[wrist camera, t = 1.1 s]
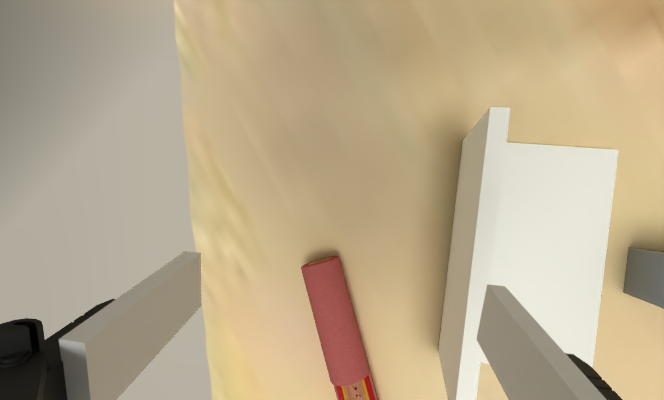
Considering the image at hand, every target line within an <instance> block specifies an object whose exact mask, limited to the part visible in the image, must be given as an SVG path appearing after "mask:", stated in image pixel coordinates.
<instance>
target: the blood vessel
mask: <svg viewBox="0 0 664 400" xmlns="http://www.w3.org/2000/svg"><path fill="white" fill-rule="evenodd" d="M301 269H302V273H303V277H304V281H305V285H306V289H307V292H308V296H309V300H310V304H311V308H312V312H313V315H314V319H315V323H316V327H317V331H318V334H319V338H320V342H321V346H322V350H323V354H324V357H325V361H326V365H327V369H328V373H329V377H330V380H331V382H332V384H333V385H334V388H335V392H336V395H337V399H338V400H378V398H377V395H376V391H375V387H374V384H373V380H372V376H371V373H370V369H369V365H368V362H367V358H366V354H365V351H364V347H363V343H362V340H361V336H360V332H359V329H358V325H357V321H356V317H355V314H354V310H353V306H352V303H351V299H350V295H349V292H348V288H347V284H346V281H345V277H344V273H343V270H342V266H341V262H340V259H339V257H338V256H334V257H328V258H324V259H320V260H317V261H314V262H310V263H308V264H305V265H304V266H302V267H301Z"/></svg>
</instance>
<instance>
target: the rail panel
mask: <svg viewBox="0 0 664 400" xmlns="http://www.w3.org/2000/svg"><path fill="white" fill-rule="evenodd" d="M510 109H511V108H504V107H490V108H489V109H488V110H487V112H486V113H485V114H484V115H483V117H482V118H481V119H480V120H479V121H478V123H477V124H476V125H475V126H474V128H473V129H472V130H471V131H470V132H469V134H468V135H467V136H466V137H465V139H464V140H463V142H462V151H461V159H460V168H459V176H458V185H457V193H456V202H455V210H454V219H453V227H452V236H451V244H450V253H449V261H448V270H447V278H446V287H445V295H444V304H443V313H442V321H441V330H440V338H439V347H438V353H439V358H440V363H441V368H442V372H443V377H444V382H445V387H446V392H447V396H448V400H476V396H477V388H478V379H479V371H480V362H481V363H486V364H489V362H488V360H487V358H486V356H485V354H484V352H483V351H482V349H481V347H480V345H479V343H478V341H477V333H478V328H479V323H480V318H481V313H482V308H483V303H484V298H485V293H486V288H487V284H489V285H498V286H505V287H506V288H507V289H508V290H509V291H510V292H511V293H512V295H513V296H514V297H515V298H516V299H517V300H518V301H519V302H520V303H521V305H522V306H523V307H524V308H525V309H526V310H527V311H528V312H529V314H530V315H531V316H532V317H533V318H534V319H535V320H536V321H537V322H538V324H539V325H540V326H541V327H542V328H543V329H544V330H545V331H546V332H547V334H548V335H549V336H550V337H551V338H552V339H553V340H554V341H555V343H556V344H557V345H558V346H559V347H560V348H561V349H562V350H563V351H564V353H567V354H574V355H575V356H577V357H578V358H580V359H581V360H583V361H584V362H585V363H587V364H588V365H590V366H591V367H593V359H594V351H595V342H596V334H597V326H598V317H599V309H600V301H601V292H602V284H603V276H604V267H605V259H606V251H607V242H608V234H609V226H610V217H611V209H612V201H613V192H614V184H615V176H616V167H617V159H618V151H619V150H613V149H598V148H584V147H569V146H554V145H539V144H524V143H510V142H507V134H508V125H509V117H510Z"/></svg>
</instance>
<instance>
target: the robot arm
mask: <svg viewBox="0 0 664 400" xmlns="http://www.w3.org/2000/svg"><path fill="white" fill-rule="evenodd" d="M200 307H201V253H196V252H187V251H185V252H183V253H182V254H180V255H179V256H177V257H176V258H175V259H173V260H172V261H170V262H169V263H167V264H166V265H164V266H163V267H162V268H160V269H159V270H157V271H156V272H154V273H153V274H152V275H150V276H149V277H147V278H146V279H144V280H143V281H142V282H140V283H139V284H138V285H136V286H134V287H133V288H132V289H130V290H129V291H127V292H126V293H124V294H123V295H121V296H120V297H119V298H117V299H111V300H109V301H106V302H104V303H102V304H99V305H97V306H95V307H94V308H92V309H91V310H89V311H88V312H86V313H85V314H84V316H80V317H79V318H77V319H76V320H74V322H73V323H72V322H71V323H70V324H68V325H67V326H65V327H64V328H62V329H61V330H60V331H58V332H56V333H55V334H53V335H52V336H50V337H49V338H47V339H46V340H44V332H43V325H42V322H41V321H39V320H37V319H19V320H13V321H10V322H6V323H2V324H0V400H117V398H118V397H119V396H120V395H121V394H122V393H123V392H124V391H125V389H126V388H127V387H128V386H129V385H130V384H131V383H132V382H133V381H134V380H135V379H136V377H137V376H138V375H139V374H140V373H141V372H142V371H143V370H144V369H145V367H146V366H147V365H148V364H149V363H150V362H151V361H152V360H153V359H154V357H155V356H156V355H157V354H158V353H159V352H160V351H161V350H162V349H163V348H164V346H165V345H166V344H167V343H168V342H169V341H170V340H171V339H172V338H173V337H174V335H175V334H176V333H177V332H178V331H179V330H180V329H181V328H182V326H183V325H184V324H185V323H186V322H187V321H188V320H189V319H190V318H191V317H192V316H193V314H194V313H195V312H196V311H197V310H198V309H199V308H200ZM477 341H478V343H479V345H480V347H481V349H482V351H483V352H484V354H485V356H486V358H487V360H488V362H489V364H490V365H491V367H492V369H493V371H494V373H495V375H496V377H497V378H498V380H499V382H500V384H501V386H502V388H503V390H504V392H505V393H506V395H507V397H508V399H509V400H622V399H621V398H620V397H619V396H618V394H617V393H616V392H615V391H612V388H611V387H610V386H609V385H608V384H607V383H606V382H605V381H604V380H602V378H601V377H600V376H599V375H598V374H597V372H596V371H595V370H594V369H593V368H592V367H591V366H590V365H588V364H587V363H585V362H584V361H583V360H581V359H580V358H578V357H577V356H575V355H574V354H567V353H564V351H563V350H562V349H561V348H560V347H559V346H558V345H557V344H556V343H555V341H554V340H553V339H552V338H551V337H550V336H549V335H548V334H547V332H546V331H545V330H544V329H543V328H542V327H541V326H540V325H539V324H538V322H537V321H536V320H535V319H534V318H533V317H532V316H531V315H530V314H529V312H528V311H527V310H526V309H525V308H524V307H523V306H522V305H521V303H520V302H519V301H518V300H517V299H516V298H515V297H514V296H513V295H512V293H511V292H510V291H509V290H508V289H507V288H506V287H505V286H498V285H489V284H487V288H486V293H485V298H484V303H483V308H482V313H481V318H480V323H479V328H478V333H477Z"/></svg>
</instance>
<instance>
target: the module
mask: <svg viewBox="0 0 664 400" xmlns="http://www.w3.org/2000/svg"><path fill="white" fill-rule="evenodd" d="M623 292H624V293H626V294H629V295H631V296H634V297H636V298H639V299H641V300H644V301H646V302H649V303H651V304H654V305H656V306H659V307H661V308H664V252H662V251H654V250H645V249H637V248H629V249H628V257H627V265H626V274H625V282H624V290H623Z"/></svg>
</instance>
